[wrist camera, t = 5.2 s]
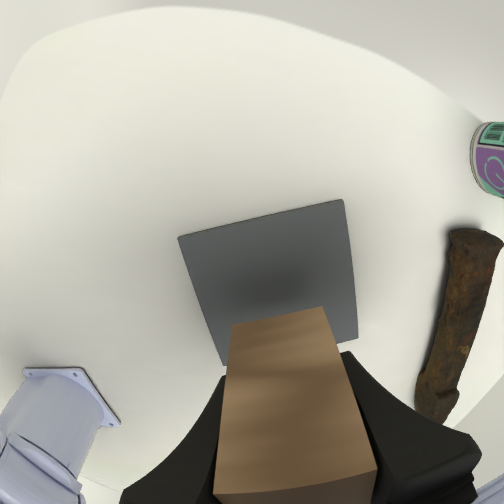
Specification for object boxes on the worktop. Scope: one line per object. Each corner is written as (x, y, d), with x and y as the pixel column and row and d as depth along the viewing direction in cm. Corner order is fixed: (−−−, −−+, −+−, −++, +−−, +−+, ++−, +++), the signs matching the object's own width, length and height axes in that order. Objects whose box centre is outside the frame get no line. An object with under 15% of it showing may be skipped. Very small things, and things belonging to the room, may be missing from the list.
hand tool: (441, 223, 18) (480, 245, 14) (479, 224, 18) (518, 244, 13) (391, 411, 24) (404, 446, 20) (424, 404, 24) (440, 436, 20)
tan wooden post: (253, 386, 14) (251, 530, 7) (232, 324, 13) (212, 493, 6) (330, 371, 14) (367, 512, 7) (322, 305, 13) (377, 468, 5)
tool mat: (223, 362, 21) (223, 366, 21) (178, 236, 18) (177, 238, 18) (357, 334, 21) (358, 338, 20) (341, 199, 17) (343, 200, 17)
